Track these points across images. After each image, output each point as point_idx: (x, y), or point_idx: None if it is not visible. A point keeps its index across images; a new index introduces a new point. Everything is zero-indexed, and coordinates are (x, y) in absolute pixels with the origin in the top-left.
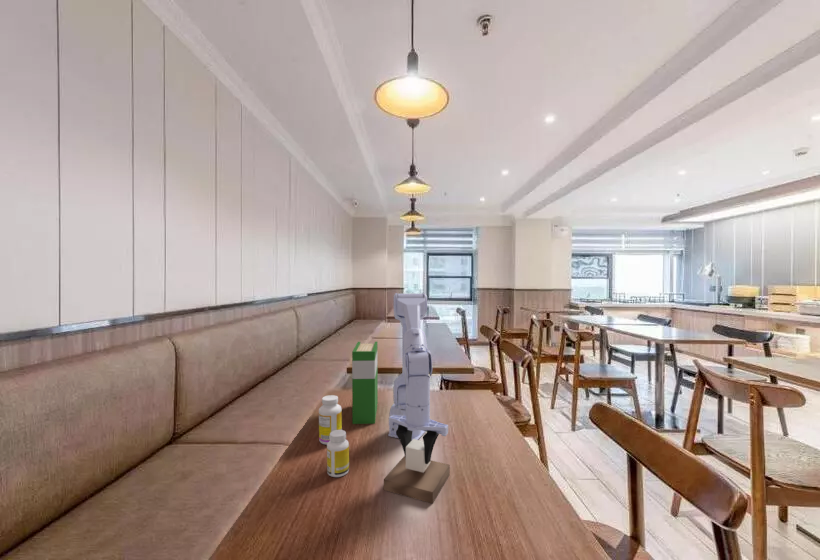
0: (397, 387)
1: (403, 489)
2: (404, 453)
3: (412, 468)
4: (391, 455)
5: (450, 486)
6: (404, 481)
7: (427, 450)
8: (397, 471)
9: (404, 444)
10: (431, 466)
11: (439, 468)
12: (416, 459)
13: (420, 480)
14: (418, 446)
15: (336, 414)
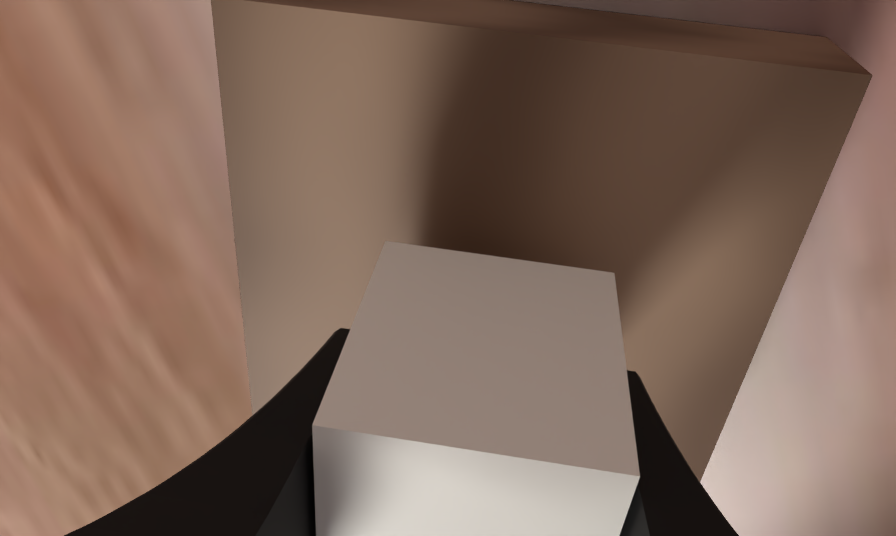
0: None
1: (583, 24)
2: (657, 415)
3: (524, 270)
4: (825, 523)
5: (220, 253)
6: (588, 101)
7: (253, 441)
8: (715, 260)
9: (672, 522)
10: None
11: None
12: (457, 337)
13: (417, 168)
14: (437, 516)
15: None
